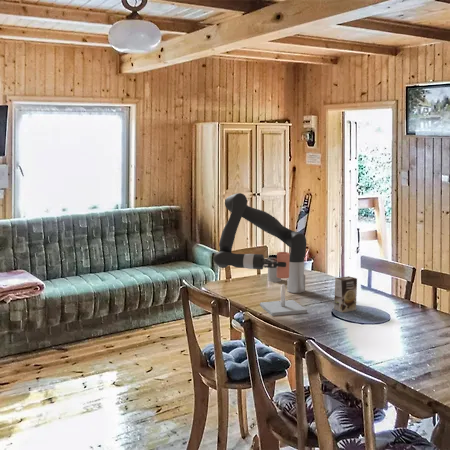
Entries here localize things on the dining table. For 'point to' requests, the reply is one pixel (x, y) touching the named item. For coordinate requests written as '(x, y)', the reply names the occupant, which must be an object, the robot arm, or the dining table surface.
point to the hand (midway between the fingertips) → (287, 263)
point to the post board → (283, 306)
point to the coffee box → (345, 294)
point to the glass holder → (273, 272)
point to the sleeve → (283, 271)
